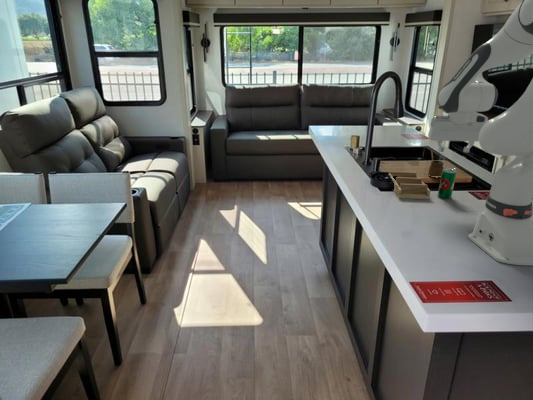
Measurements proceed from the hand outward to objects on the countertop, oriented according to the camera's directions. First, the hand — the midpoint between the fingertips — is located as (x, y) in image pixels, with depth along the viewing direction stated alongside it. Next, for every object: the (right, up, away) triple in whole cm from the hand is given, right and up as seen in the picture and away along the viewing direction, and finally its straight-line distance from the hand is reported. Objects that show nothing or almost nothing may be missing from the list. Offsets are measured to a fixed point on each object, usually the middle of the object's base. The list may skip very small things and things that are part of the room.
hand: (453, 151), depth 148 cm
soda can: (0, -17, +7) cm, 19 cm away
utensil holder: (+6, -8, +30) cm, 32 cm away
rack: (-12, -14, +15) cm, 24 cm away
